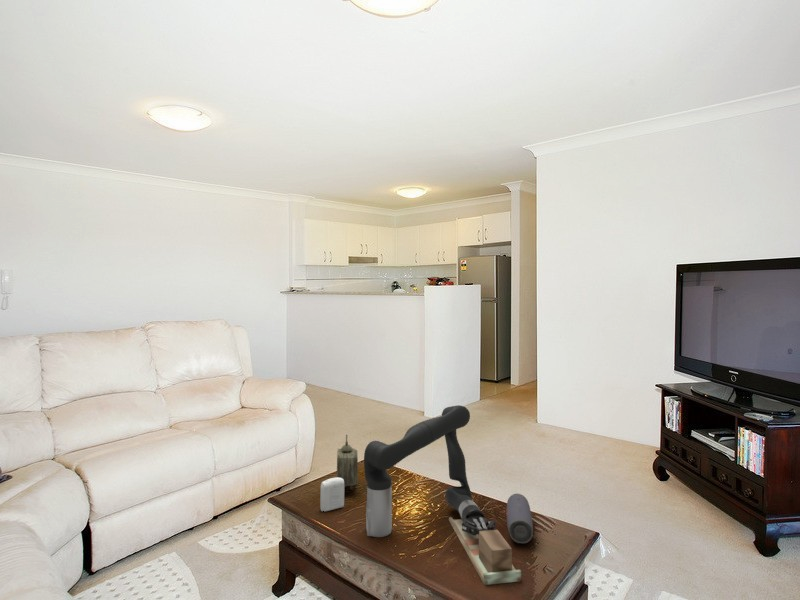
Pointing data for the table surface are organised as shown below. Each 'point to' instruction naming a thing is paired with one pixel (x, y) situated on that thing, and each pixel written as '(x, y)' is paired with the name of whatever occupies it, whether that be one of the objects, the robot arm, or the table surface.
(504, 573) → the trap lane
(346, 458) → the grey-brown tall piece
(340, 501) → the photo printer
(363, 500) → the table surface
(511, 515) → the bluetooth speaker
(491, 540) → the walnut block
